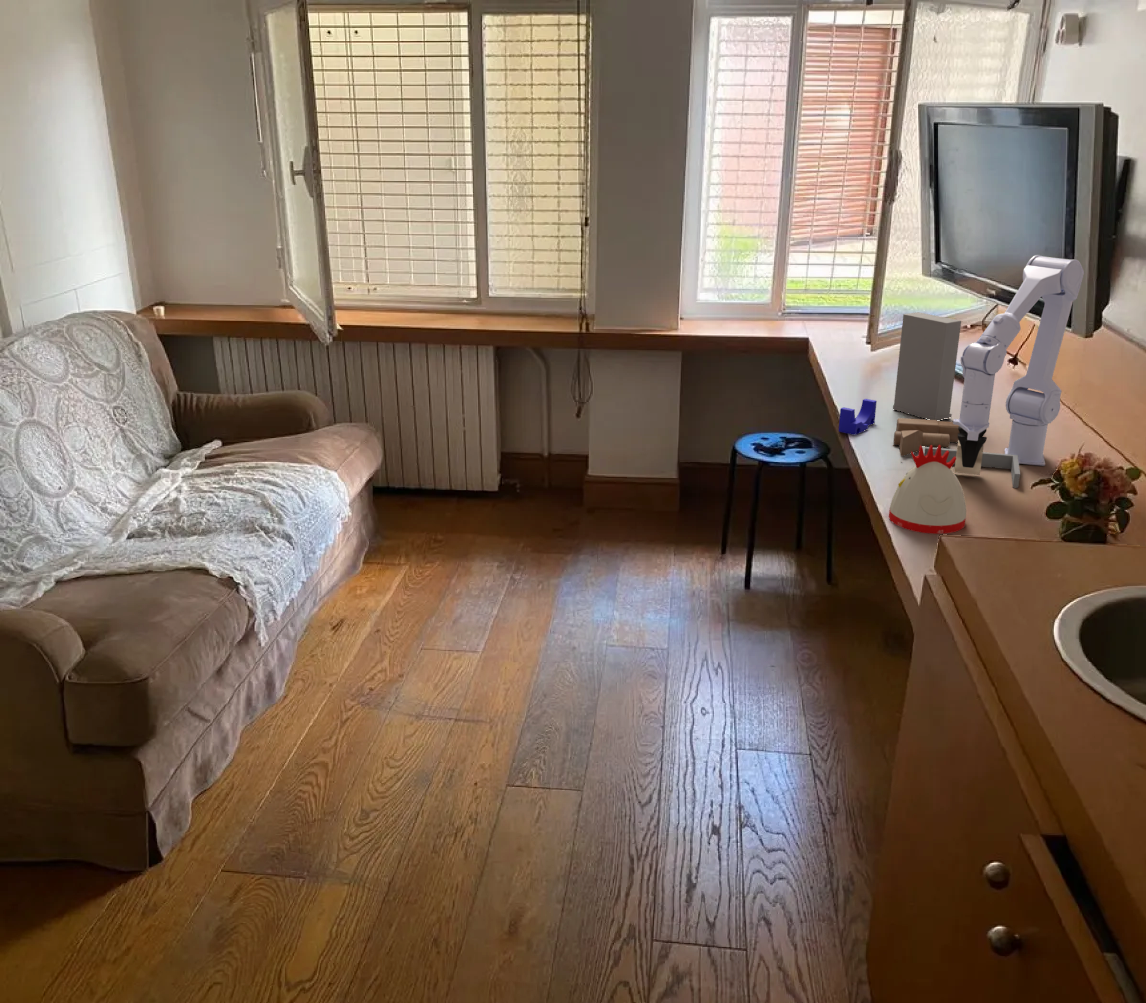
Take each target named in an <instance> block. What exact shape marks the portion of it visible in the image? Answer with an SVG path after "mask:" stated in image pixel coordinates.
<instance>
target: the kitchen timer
mask: <svg viewBox="0 0 1146 1003" xmlns="http://www.w3.org/2000/svg"><path fill="white" fill-rule="evenodd" d="M933 448H934V447H933V446H932V445H930V447H929V450H928V453H927V455H926V456H924V452H923V448H922V446H921V445H920V447H919V451H918V455H915V454H914V453H913V452H912V451H911V454H910V455H911V457H912V459H913V462H914V467H912V468H911V469H910V470H908V471H907V472H906V474H905V475H903V477H902V478H901V480H900V482H898V485H897V488H896V490H895V491H894V493H893V497H892V499H891V501H890V506H889V511H888V518H889V520H890V522H892V523H893V524H894V525H896V526H898V527H900V528H902V529H906V530H909V531H912V532H916V533H922V534H935V535H937V534H938V535H939V534H951V533H955V532H958V531H960V530H962V529H964V527H965V525H966V519H967V505H966V499H965V495H964V490H963V488H962V485H961V483H960V481H959V478H958V477H957V476H956V473H954V471H952V468H953V466H954V465H955V464H954V462H955V461H956V457H955V456H954V457H953V458H952V460H951V461H950V462H948V463H947V462H946V460H947V458H948V455H949V451H948V450H947V451H946V452H945V453H944V455H943V456H941V446H940V445H938V448H937V447H936V448H937V450H936V453H935V455H934V456H933Z"/></svg>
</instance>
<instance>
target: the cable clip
mask: <svg viewBox="0 0 1146 1003" xmlns="http://www.w3.org/2000/svg"><path fill="white" fill-rule="evenodd" d="M877 402H878V401H877V400H876V399H868V398H864V399H862V402H861V406H860V410H859V412H858V414H857V415H856V414H855V412H856V409H854V408H849V407H840V409H839V410H840V411H839V424H838V432H839V433H844V434H849V435H852V436H857V435H859V434H861V433H863V431H864V430H866V429H869V426H872V425H873V423H874V424H875V422H876V414H877V413H876V412H877V411H876V410H877ZM871 424H872V425H871ZM868 425H869V426H868ZM866 431H867V430H866ZM864 432H865V431H864Z"/></svg>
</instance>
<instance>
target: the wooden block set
mask: <svg viewBox="0 0 1146 1003" xmlns="http://www.w3.org/2000/svg"><path fill="white" fill-rule="evenodd" d="M958 426H959V425H955V424H953V421H947V420H942V421H937V420H926V419H923V418H903V417H902V418H901V417H899V418H897V419H896V427H895V432H894V434H893V446H899V448H900V449H899V454H900V457H904V455H905V456H908V455H911V454H910V453H911V451H912V452H915V453H917V452H916V451H918V452H919V447H920V445H921V446H925V447H927V446H928V447H930V445H932V446H933V448H937V447H938V445H940V446H941V447H948V448H950V444H951V443H950V442H958V433H960V432H959V430H958ZM907 454H908V455H907Z"/></svg>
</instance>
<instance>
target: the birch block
mask: <svg viewBox="0 0 1146 1003" xmlns="http://www.w3.org/2000/svg"><path fill="white" fill-rule="evenodd" d="M956 450H957V453H956V461H955V464H954V471H953V473H954V474H956V473H957V474H965V475H976V476H980V474H981V468H982V466H981V462H982V455H983V452H984V445H983V446H982V447H981V449H980V451H979V454H978V456H977V459H976V462H975V465H974V467H973V468H969V467H963V465H962V450H961V445H960V442H959V440H958V443H957V446H956Z"/></svg>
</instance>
